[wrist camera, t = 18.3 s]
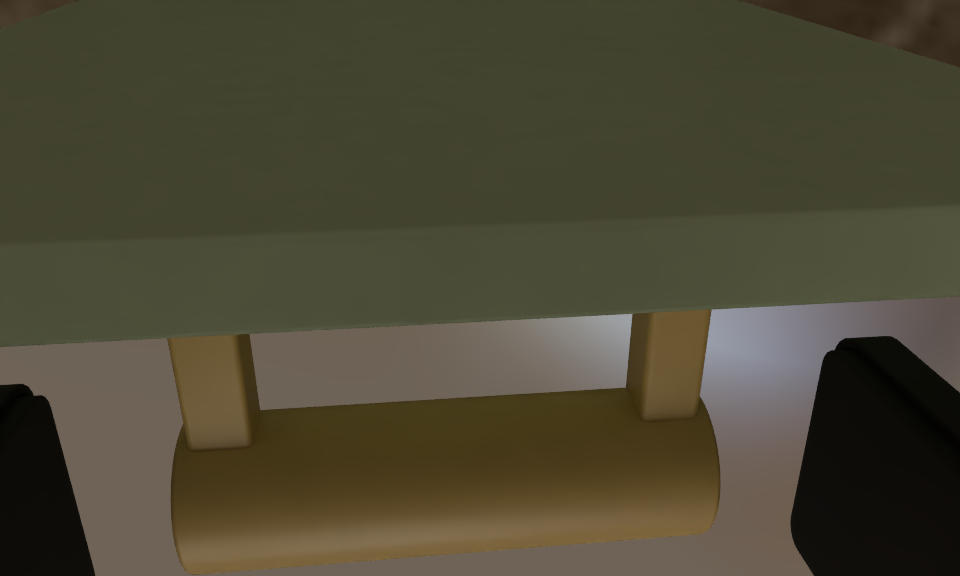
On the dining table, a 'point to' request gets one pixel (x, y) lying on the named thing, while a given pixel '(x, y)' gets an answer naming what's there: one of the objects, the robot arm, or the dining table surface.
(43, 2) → the dining table surface
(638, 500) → the lid
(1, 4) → the dining table surface
